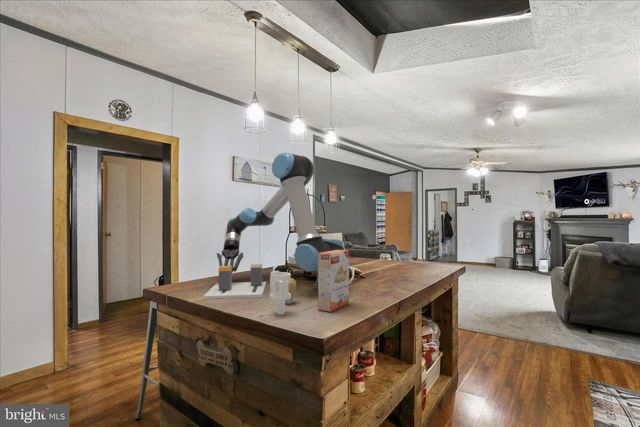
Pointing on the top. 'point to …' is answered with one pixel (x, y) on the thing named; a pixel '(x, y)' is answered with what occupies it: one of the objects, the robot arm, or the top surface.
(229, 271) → the block
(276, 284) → the white stepped cylinder
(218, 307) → the top surface
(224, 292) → the plate
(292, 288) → the light bulb
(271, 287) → the medicine bottle
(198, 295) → the top surface
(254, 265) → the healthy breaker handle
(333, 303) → the cracker box
